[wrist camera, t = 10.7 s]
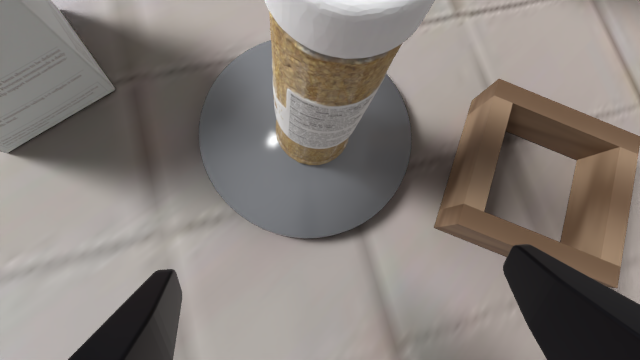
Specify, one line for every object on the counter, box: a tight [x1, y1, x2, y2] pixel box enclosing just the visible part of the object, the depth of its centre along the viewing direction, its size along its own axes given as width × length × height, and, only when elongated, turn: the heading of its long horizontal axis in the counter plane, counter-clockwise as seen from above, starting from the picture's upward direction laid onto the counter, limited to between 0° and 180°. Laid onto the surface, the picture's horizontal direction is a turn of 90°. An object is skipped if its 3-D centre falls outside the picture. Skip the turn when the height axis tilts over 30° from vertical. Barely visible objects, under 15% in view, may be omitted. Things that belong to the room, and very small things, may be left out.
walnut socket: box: [434, 79, 640, 288], centre depth 20 cm, size 9×9×3 cm
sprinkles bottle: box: [264, 0, 434, 165], centre depth 14 cm, size 5×5×13 cm
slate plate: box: [199, 40, 411, 238], centre depth 21 cm, size 13×13×1 cm
